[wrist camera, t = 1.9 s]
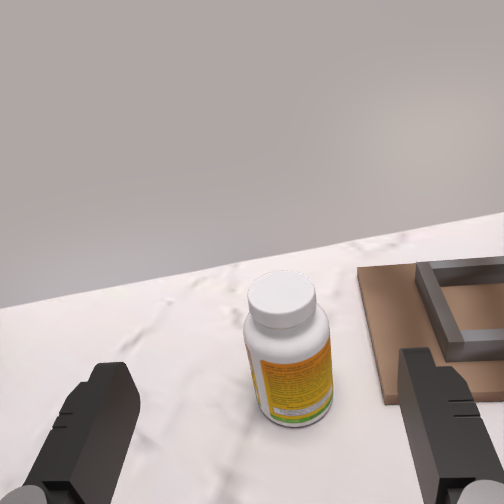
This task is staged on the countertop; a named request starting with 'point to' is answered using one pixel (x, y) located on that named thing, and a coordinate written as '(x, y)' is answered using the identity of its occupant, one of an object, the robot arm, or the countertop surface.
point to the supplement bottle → (288, 348)
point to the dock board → (439, 319)
